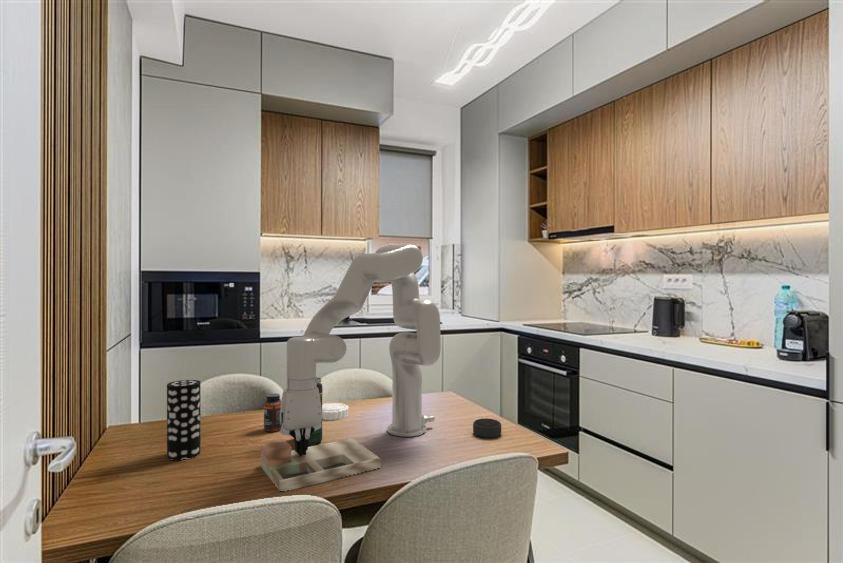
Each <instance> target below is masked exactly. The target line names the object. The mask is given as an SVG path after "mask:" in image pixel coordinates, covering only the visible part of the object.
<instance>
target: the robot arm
mask: <svg viewBox="0 0 843 563" xmlns="http://www.w3.org/2000/svg"><path fill="white" fill-rule="evenodd" d="M422 253H423V252H422V251H421V249H420V248H419V247H418V246H416V245H414V244H398V245H396V244H393V245H385V246H384V245H383V246H381V247H379V248H378V249H377V250H376V251H375V252H373V253H361V254H358V255H357V256H355V257H354V258H353V259H352V261H351V263H350V264H349V267H348V269H347V271H346V273H345V275H344V276H343V278H342V280H341V283H340V284H339V286H338V289H337V290H336V293H335V294H334V296H333V297H332V298H331V299H329V300H328V301H327V302H326V304H324V305H323V306H322V307H321V308H320V309H319V310H318V311H317V312H316V313H315V314H314V316H313V317H312V319H311V320H310V322H309V323H308V325H307V328H306V330H305V331H304V334H303V335H302V336H294V337H290V338H288V340H287V341H286V389H283V391H282V396H281V399H280V400H281V409H280V425H281V426H282V427H281V430H279V431H280V434H281V435H283V436H291V437H292V438H293V439H294V450H295V452H297V453H298V454H299V455H300V456H302V455H306V450H308V447H309V445H308V439H309V438H310V435H311V434H312V433H313V432H314V431H315V430H318V429H320V428H321V427H322V428H323V424H322V425H321V420H322V411H321V400H320V394H319V390H318V388H317V387H316V386H317V383H321V384H322V378H321V377H318V376H317V364H319V363H320V364H333V363H337V362H339V361H340V360H342V359H343V358H344V357H345V355H346V353H347V344H346V342H345V340H344V339H343V338H342V337H340V336H339V335H335V334H330V333H331V332H332V330H333V329H335V328H334V327H335V326H336V325H337V324H339V323H340V322H341V321H343V320H344V319H346V318H349V317H351V316H353V315H355V314H356V313H358V312H360V311H361V310H362V309H363V307H364V305H365V303H366V300H367V298H368V296H369V293H370V292H371V290H372V287H373V286H374V284H376V283H378V284H379V283H388V282H389V283H390V284H391V290H392V318H393V322H394V324H395V326H397V327H398V328H402V329H406V330H415V331H416V332H407V331H405V332H403V331H402V332H400V333H396V334H395V335H393V337H392V338H391V340H390V342H389V347H388V348H389V356H390V360H391V369H392V373H391V374H392V377H391V378H392V385H391V386H392V390H391V393H392V395H391V396H392V397H391V399H392V400H391V402H392V404H391V407H392V408H391V410H392V415H391V416H392V417H391V418H392V419H391V423H390V424H389V425H387V428H386V431H387V432H388V434H391V435H392V436H396V437H401V438H403V437H405V438H407V437H409V438H410V437H411V438H412V437H419V436H421V435H424V434H425V433H426V432H427V426H426V424H427V423H432V422H435V416H434V415H428V416H427V414H422V413H423V411H422V410H423V409H422V408H423V399H422V398H423V390H422V389H423V385H422V383H423V375H422V370H421V368H420V366H423V367H430V366H433V365H435V364H436V363H437V361H438V360H439V359H440V354H441V346H442V345H441V343H442V342H441V338H442V337H441V314H440V311H439V308H438V306H437V305H436V303H434V302H433V301H431V300H429V299H428V300H427V299H421V298H420V291H419V290H420V288H419V281H418V278H417V276H416V274H415V273H416V272H417V271H419V269H420V268H421V267H422V264H423V260H424V259H423V258H424V257H423V254H422ZM322 421H323V420H322ZM300 429H303V430H302V436H300ZM423 433H424V434H423Z"/></svg>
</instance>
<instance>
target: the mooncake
mask: <svg viewBox="0 0 843 563" xmlns="http://www.w3.org/2000/svg"><path fill="white" fill-rule="evenodd" d="M349 411H350V407H349V405H347V404H345V403H341V402H327V403H326V402H325V403H322V419H323V420H322V421H337V420H336V419H338V420H342V419H345V418H347V417H346V416H349V415H348V414H350V412H349ZM344 417H345V418H344ZM341 418H342V419H341Z"/></svg>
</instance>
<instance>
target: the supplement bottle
mask: <svg viewBox="0 0 843 563" xmlns="http://www.w3.org/2000/svg"><path fill="white" fill-rule="evenodd" d="M281 400H282V399H281V396H280V393H269V394H267V395H266V401H264V404H263V430H264V431H265V432H268V433H274V432H279V431H281V427H282V426H281V425H280V409H281Z"/></svg>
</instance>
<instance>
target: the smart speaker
mask: <svg viewBox="0 0 843 563" xmlns="http://www.w3.org/2000/svg"><path fill="white" fill-rule="evenodd" d="M472 432H473V434H474V435H475V436H477V437H480V438H484V439H494V438H498V437H499V436H501V435H502V423H501V422H500V421H499V420H497V419H493V418H479V419H476V420H474V421H473V423H472Z"/></svg>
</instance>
